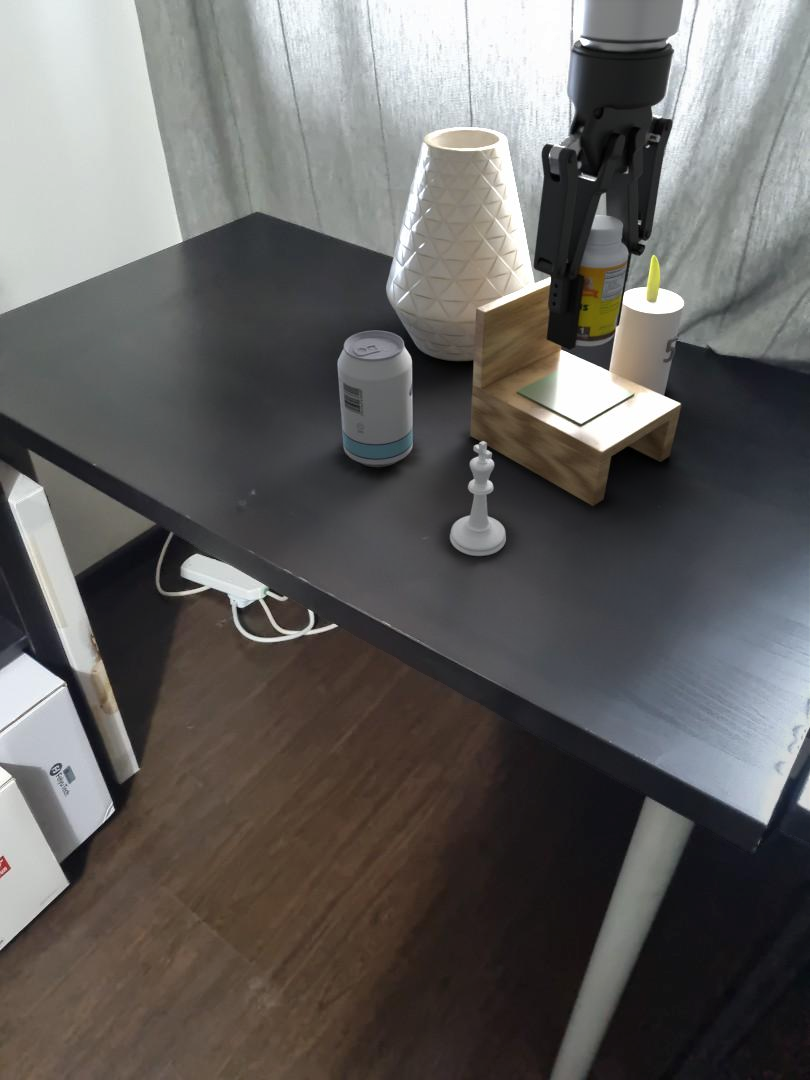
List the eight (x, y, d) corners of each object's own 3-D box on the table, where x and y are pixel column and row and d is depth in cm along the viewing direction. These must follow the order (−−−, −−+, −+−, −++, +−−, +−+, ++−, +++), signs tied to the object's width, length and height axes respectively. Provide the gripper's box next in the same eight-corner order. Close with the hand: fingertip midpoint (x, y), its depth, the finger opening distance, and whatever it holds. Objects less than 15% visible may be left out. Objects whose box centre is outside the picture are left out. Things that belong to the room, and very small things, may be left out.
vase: (478, 298, 110) (486, 109, 95) (559, 351, 99) (583, 145, 84) (363, 329, 104) (352, 132, 89) (435, 390, 92) (437, 174, 77)
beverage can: (423, 463, 82) (423, 353, 74) (357, 480, 80) (350, 368, 72) (398, 428, 86) (395, 322, 79) (335, 443, 85) (326, 335, 77)
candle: (643, 411, 88) (670, 276, 79) (594, 389, 92) (615, 256, 82) (677, 391, 91) (708, 258, 82) (629, 370, 95) (652, 240, 85)
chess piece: (478, 513, 76) (484, 419, 69) (517, 539, 73) (526, 444, 66) (438, 535, 73) (439, 441, 67) (476, 564, 70) (482, 468, 64)
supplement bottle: (540, 330, 76) (551, 218, 70) (587, 316, 79) (602, 206, 72) (580, 355, 73) (596, 239, 66) (627, 339, 75) (647, 225, 68)
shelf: (669, 455, 82) (700, 324, 73) (592, 506, 76) (615, 370, 67) (547, 395, 91) (560, 272, 82) (470, 435, 85) (475, 308, 76)
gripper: (655, 18, 67) (613, 290, 82) (497, 51, 58) (482, 351, 73) (738, 29, 63) (677, 314, 78) (581, 67, 54) (547, 382, 69)
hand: (583, 331), depth 76 cm, fingers closed on supplement bottle, 6 cm apart
